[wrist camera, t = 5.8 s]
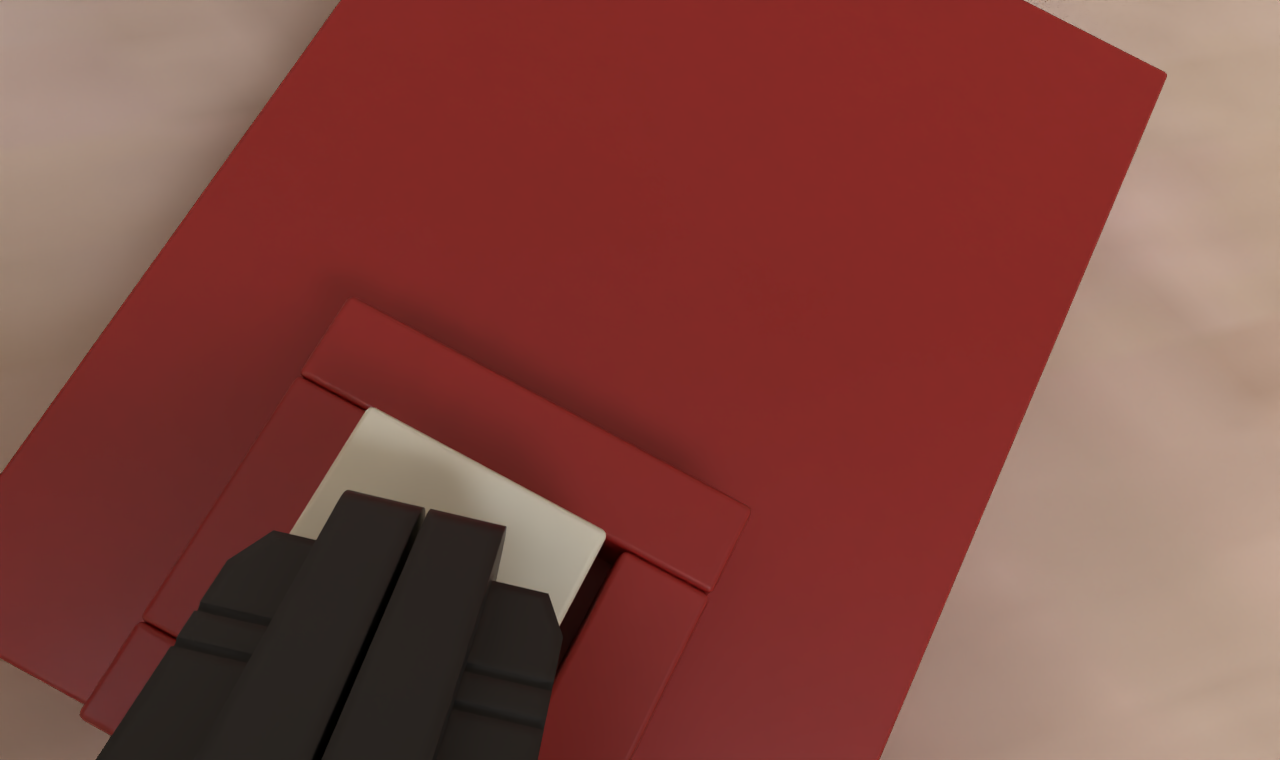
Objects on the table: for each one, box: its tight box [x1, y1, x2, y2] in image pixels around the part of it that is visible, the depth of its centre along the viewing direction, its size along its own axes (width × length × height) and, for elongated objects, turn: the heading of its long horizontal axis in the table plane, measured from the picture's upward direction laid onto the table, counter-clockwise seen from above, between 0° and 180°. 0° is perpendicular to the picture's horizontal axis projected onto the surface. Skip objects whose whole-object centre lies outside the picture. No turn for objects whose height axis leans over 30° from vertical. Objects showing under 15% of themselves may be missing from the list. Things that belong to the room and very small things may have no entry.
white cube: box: [289, 407, 606, 626], centre depth 12 cm, size 3×3×2 cm
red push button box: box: [0, 0, 1167, 760], centre depth 17 cm, size 12×16×5 cm
